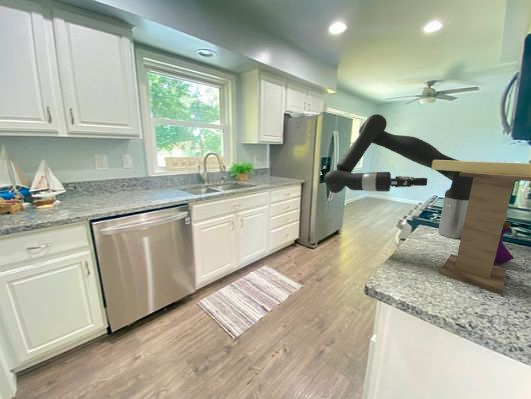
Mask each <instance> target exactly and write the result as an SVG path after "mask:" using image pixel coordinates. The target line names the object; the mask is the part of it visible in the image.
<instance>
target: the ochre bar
mask: <svg viewBox="0 0 531 399" xmlns="http://www.w3.org/2000/svg"><path fill="white" fill-rule="evenodd" d="M430 170H431V171H432V170H433V171H436V170H447V171H463V172H480V173H496V174H512V175H528V176H531V163H530V162H505V161H504V162H501V161H477V160H476V161H474V160H473V161H472V160H471V161H470V160H460V161H450V160H433V162H432V168H430Z"/></svg>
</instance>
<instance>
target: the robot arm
mask: <svg viewBox="0 0 531 399" xmlns="http://www.w3.org/2000/svg"><path fill="white" fill-rule="evenodd" d="M387 124H388V123H387V119H386V117H385V116H383V115H382V114H378V113H377V114H376V113H375V114H374V113H373V114H371V115H370V116H369V117H367V118H366V119H365V121H364V122H363V123H362V125H361V126H360V127H359V129H358V134H359V135H358V136H357V137H356V139H355V140H354V142H352V144H351V145H350V146H349V147H348V149H347V150H346V152H344V154H343V155H342V157H341V158H340V159H339V161H338V162H337V163H336V164H337V165H336V169H335V170H329V171H328V172H327V173H326V174H324V177H323V180H324V183H325V185H326V186H327V188H328V190H329V192H331V193H332V194H337V193H340V192H341V191H343V190H344V188H346V187H347V189H349V190H351V191H365V192H387V193H388V192H390V190H391V187H392V188H394V187H395V188H409V187H418V186H421V187H422V186H423V187H424V186H425V187H427V185H428V178H427V177H414V176H411V177H410V176H400V175H398V176H397V175H396V176H395V177H393V178H392V174H391V172H390V171H371V172H358V173H357V172H355V173H354V172H353V171H354V169H355V168H356V166H357V165H358V164H359V162H360V161H361V159H362V158H363V156H364V155H365V153H366V151H367V150H368V148H370V146H371V145H372V144H374V145H377V146H380V147H383V148H385V149H387V150H389V151H391V152H394V153H395V154H398V155H399V156H401V157H403V158H405V159H407V160H410V161H411V162H414V163H416V164H419V165H421V166H424V167H427V168H429V169H431V168H432V162H433V160H450V161H461V160H459V159H456V158H453V157H450V156H448V155H445V154H443V153H442V152H441V151H439V150H438V149H437V148H436V147H434V146H433V145H432V144H431V143H428V142H427V141H424V140H423V139H420V138H418V137H415V136H411V135H401V134H399V135H398V134H393V133H390V132H387V131H386V128H387ZM435 171H436V172H438V173H439V174H440V175H442V176H444V177H445V178H447V179H449V180H450V181H451V185H450V188H448V189H447V190H446V191H445V192H444V199H443V203H442V209H441V215H440V220H439V225H438V230H437V233H438V234H439V235H441V236H444V237H447V238H452V239H461V235H462V230H463V226H464V221H465V216H466V211H467V206H468V202H469V197H470V192H471V187H472V182H473V178H474V177H466V176H459V174H460V172H463V171H447V170H435Z"/></svg>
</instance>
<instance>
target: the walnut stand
mask: <svg viewBox="0 0 531 399" xmlns="http://www.w3.org/2000/svg"><path fill="white" fill-rule="evenodd" d="M459 176H466V177H474V178H473V182H472V187H471V192H470V197H469V202H468V206H467V211H466V216H465V221H464V226H463V230H462V235H461V238H460V241H459V247H458V250H457V255H455V254H454V253H453V254H451V253H450V254H449V256H448V258H447V259H446V260H445V261H444V263H443V264H442V265H441V267H440V268H439V273H438V274H439V275H442V276H444V277H448V278H450V279H454V280H458V281H460V282H463V283H466V284H468V285H472V286H475V287H477V288H481V289H484V290H487V291H490V292H493V293H495V294H498V295H502V294H503V290H504V285H505V280H506V274H507V268H503V267H499V266H496V265H494V260H495V256H496V252H497V248H498V244H499V240H500V236H501V232H502V228H503V224H504V220H505V216H506V212H507V213H508V207H509V204H510V200H511V195H512V192H513V188H514V183H515V181H522V182H523V181H524V182H531V176H528V175H512V174H496V173H480V172H460V174H459ZM505 221H506V220H505Z"/></svg>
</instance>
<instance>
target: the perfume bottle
mask: <svg viewBox="0 0 531 399" xmlns="http://www.w3.org/2000/svg"><path fill="white" fill-rule="evenodd" d="M508 217H509V213H508V211H507V212H506V216H505V220H504V224H503V228H502V232H501V236H500V240H499V244H498V248H497V252H496V256H495V260H494V264H495V265H503V264H505V263H509V262H510V261H512V260H514V259H515V257H514V256H513V255H512V254H511V252H510V251H509V250H508V249H507V247H506V246H505V245H504V243H503V236H505V234H506V233H507V232H510V231H512V228H511V227H510V226H511V224H512V223H511V222H507V221H506V219H507V218H508Z"/></svg>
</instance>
